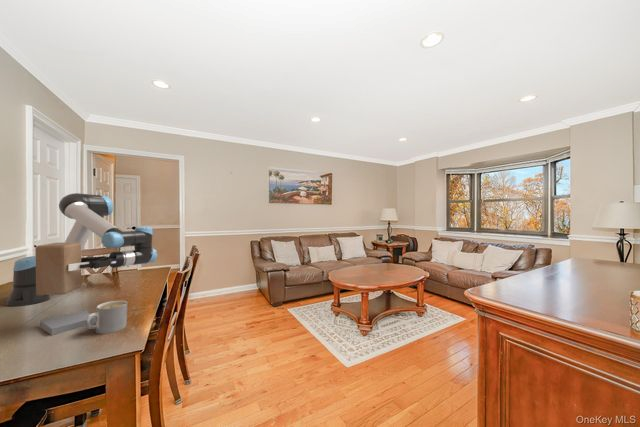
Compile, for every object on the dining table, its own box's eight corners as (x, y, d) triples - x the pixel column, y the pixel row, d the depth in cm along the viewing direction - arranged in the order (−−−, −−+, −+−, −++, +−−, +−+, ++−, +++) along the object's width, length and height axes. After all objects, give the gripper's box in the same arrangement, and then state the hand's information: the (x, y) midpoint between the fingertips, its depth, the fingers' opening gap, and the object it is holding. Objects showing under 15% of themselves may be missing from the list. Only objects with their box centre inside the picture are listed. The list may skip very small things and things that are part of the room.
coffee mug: (123, 321, 112) (124, 298, 112) (128, 328, 105) (130, 304, 105) (82, 331, 101) (83, 306, 102) (85, 339, 95) (86, 313, 95)
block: (65, 294, 100) (64, 245, 99) (34, 296, 98) (33, 246, 97) (82, 287, 110) (82, 241, 109) (55, 288, 108) (54, 242, 107)
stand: (39, 326, 104) (39, 320, 104) (83, 315, 116) (83, 310, 116) (51, 335, 97) (52, 328, 97) (97, 322, 109) (97, 316, 109)
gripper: (134, 269, 117) (73, 278, 98) (109, 263, 129) (50, 270, 110) (134, 253, 117) (74, 259, 98) (109, 249, 129) (51, 253, 110)
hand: (61, 265), depth 104 cm, fingers closed on block, 13 cm apart
